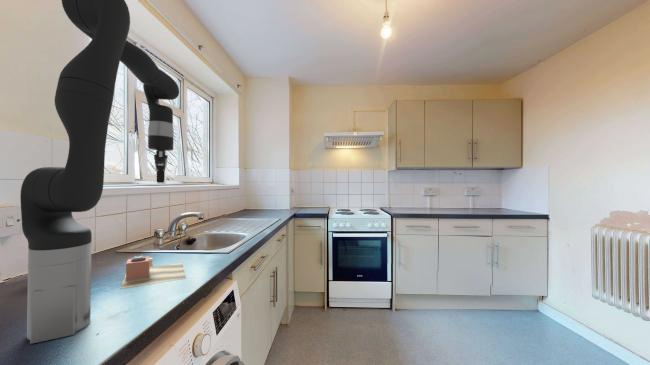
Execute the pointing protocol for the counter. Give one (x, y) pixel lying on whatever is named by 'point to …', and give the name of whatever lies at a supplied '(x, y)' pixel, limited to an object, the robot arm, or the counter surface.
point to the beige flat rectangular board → (158, 275)
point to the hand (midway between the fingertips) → (160, 182)
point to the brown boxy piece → (138, 268)
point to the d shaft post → (138, 258)
